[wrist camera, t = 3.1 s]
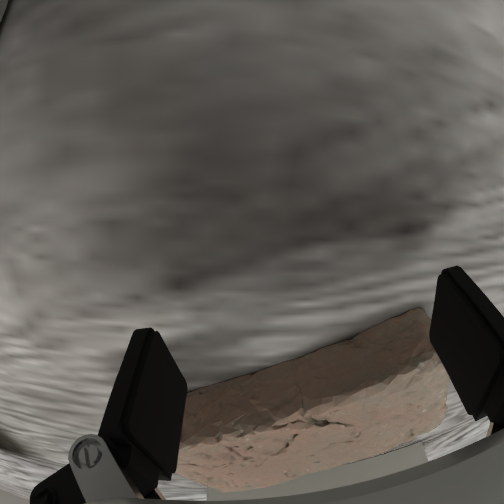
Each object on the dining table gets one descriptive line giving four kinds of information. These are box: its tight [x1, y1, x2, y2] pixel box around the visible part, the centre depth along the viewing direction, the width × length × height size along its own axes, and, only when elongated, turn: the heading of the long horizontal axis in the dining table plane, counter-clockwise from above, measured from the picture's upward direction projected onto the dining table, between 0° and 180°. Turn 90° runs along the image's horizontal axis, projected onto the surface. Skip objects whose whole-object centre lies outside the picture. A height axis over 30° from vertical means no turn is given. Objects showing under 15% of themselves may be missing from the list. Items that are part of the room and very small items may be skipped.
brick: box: [175, 308, 450, 493], centre depth 16 cm, size 17×8×5 cm, turn 116°
